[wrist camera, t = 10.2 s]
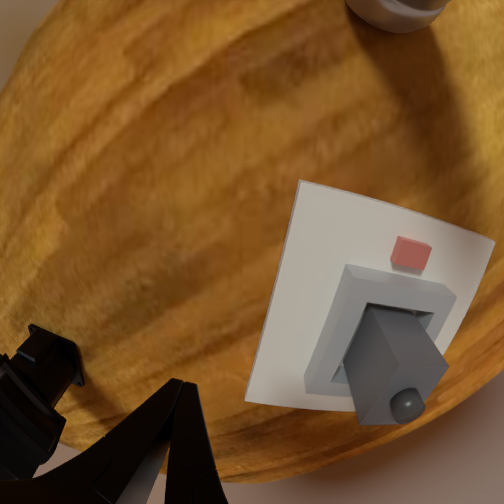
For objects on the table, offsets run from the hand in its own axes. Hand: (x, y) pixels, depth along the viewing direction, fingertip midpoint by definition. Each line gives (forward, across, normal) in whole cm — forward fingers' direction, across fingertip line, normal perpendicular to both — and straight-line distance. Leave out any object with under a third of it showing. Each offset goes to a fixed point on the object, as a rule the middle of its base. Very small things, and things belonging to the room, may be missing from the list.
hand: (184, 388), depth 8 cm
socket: (+11, -12, +3) cm, 16 cm away
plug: (+10, -11, +2) cm, 15 cm away
